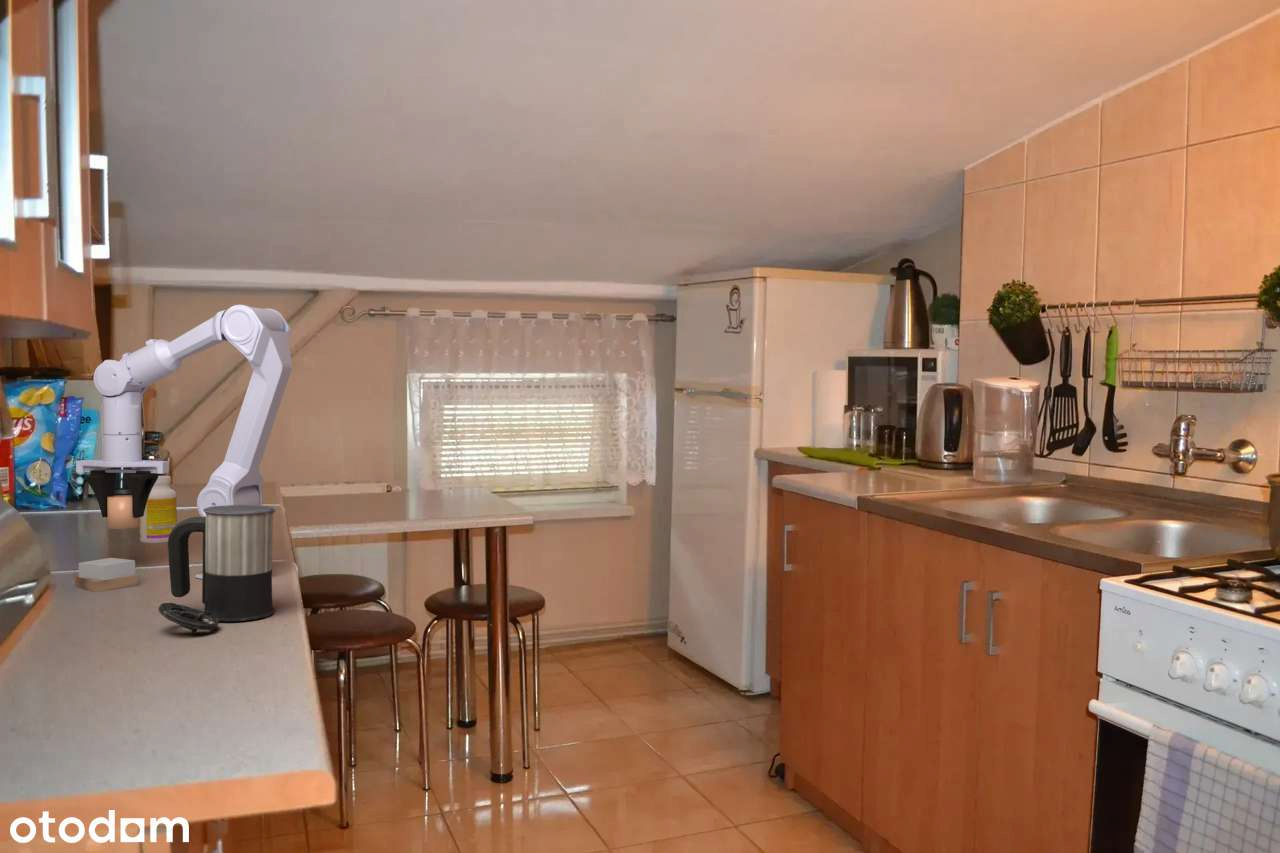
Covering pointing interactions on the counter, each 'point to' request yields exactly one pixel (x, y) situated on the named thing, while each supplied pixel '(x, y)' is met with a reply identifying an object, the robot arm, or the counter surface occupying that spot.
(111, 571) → the slab upper
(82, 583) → the slab lower
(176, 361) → the robot arm
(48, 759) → the counter surface
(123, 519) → the terracotta cylinder
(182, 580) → the milk frother
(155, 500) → the supplement bottle
